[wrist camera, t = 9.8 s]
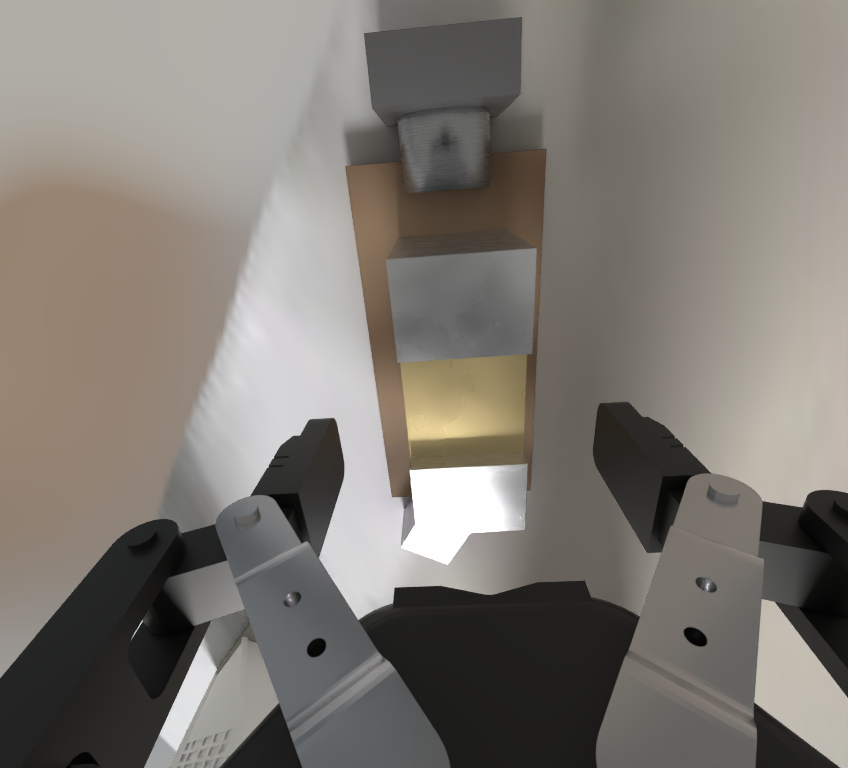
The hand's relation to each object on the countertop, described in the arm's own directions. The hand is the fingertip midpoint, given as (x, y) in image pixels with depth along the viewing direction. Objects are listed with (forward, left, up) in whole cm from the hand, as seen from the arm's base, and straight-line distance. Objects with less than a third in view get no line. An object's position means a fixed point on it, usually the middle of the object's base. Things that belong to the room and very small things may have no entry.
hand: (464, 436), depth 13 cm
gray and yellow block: (0, 0, -6) cm, 6 cm away
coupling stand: (0, 0, -7) cm, 7 cm away
